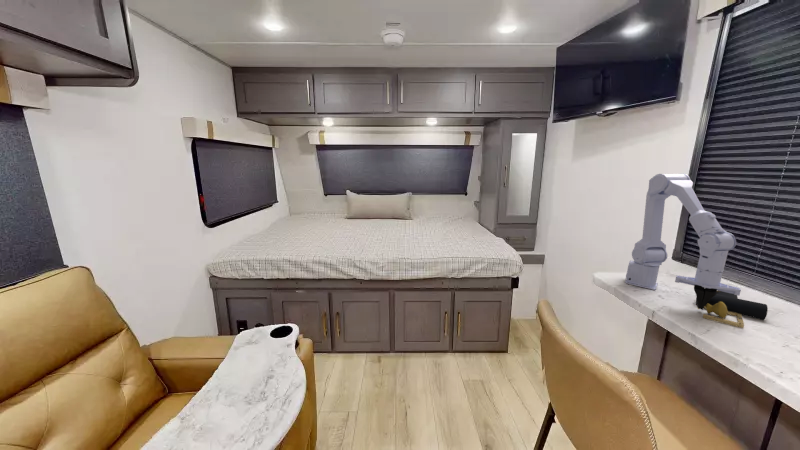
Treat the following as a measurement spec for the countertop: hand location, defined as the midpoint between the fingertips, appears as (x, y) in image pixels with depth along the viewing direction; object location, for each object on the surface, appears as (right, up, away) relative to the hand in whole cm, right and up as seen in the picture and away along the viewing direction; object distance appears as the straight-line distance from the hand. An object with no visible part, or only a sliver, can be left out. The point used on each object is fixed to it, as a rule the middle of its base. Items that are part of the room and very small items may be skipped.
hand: (700, 308), depth 96 cm
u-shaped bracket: (+3, -2, -3) cm, 5 cm away
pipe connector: (+12, -1, +3) cm, 13 cm away
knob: (+2, -2, -2) cm, 4 cm away
